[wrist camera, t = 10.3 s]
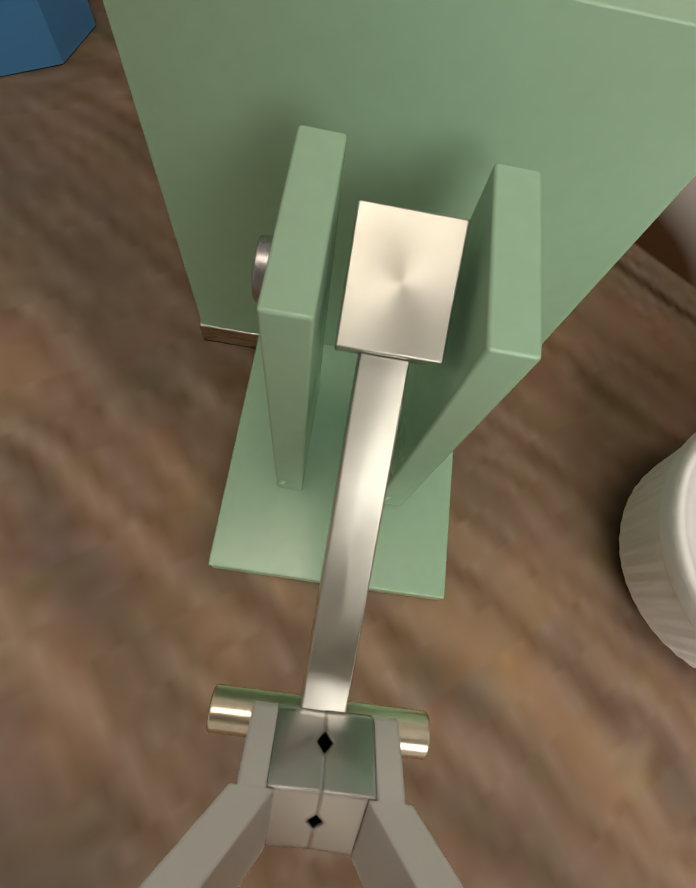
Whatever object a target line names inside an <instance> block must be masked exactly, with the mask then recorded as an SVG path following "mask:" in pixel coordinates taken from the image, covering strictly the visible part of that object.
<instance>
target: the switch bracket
mask: <svg viewBox="0 0 696 888" xmlns="http://www.w3.org/2000/svg"><path fill="white" fill-rule="evenodd" d="M346 146H347V136H346V134H345V133H341V132H336V131H331V130H325V129H320V128H315V127H310V126H305V125H300V126H299V127H298V129H297V134H296V138H295V143H294V147H293V151H292V156H291V160H290V164H289V169H288V173H287V178H286V182H285V186H284V191H283V195H282V199H281V204H280V208H279V212H278V217H277V221H276V226H275V230H274V234H273V236H271V235H266V234H262V235H261V236H260V237H259V239H258V242H257V245H256V249H255V253H254V259H253V267H252V296H253V299H254V301H256V302H258V304H257V317H258V325H259V334H260V335H259V337H258V341H257V346H256V350H255V355H254V359H253V364H252V368H251V373H250V377H249V382H248V386H247V391H246V395H245V400H244V404H243V409H242V413H241V418H240V422H239V427H238V431H237V436H236V440H235V444H234V449H233V453H232V458H231V462H230V467H229V471H228V476H227V480H226V485H225V489H224V494H223V498H222V503H221V507H220V512H219V516H218V521H217V525H216V530H215V534H214V539H213V543H212V548H211V552H210V557H209V561H208V564H209V565H210V566H212V567H213V568H218V569H225V570H232V571H239V572H246V573H253V574H259V575H266V576H273V577H280V578H287V579H294V580H301V581H308V582H315V583H320V578H321V572H322V566H323V560H324V554H325V548H326V542H327V536H328V530H329V524H330V517H331V511H332V505H333V499H334V493H335V487H336V481H337V475H338V469H339V463H340V457H341V451H342V445H343V439H344V433H345V427H346V421H347V415H348V409H349V403H350V397H351V391H352V385H353V379H354V373H355V367H356V361H357V355H358V354H355V353H349V352H343V351H337V350H335V346H330V345H324V340H325V331H326V322H327V314H328V305H329V296H330V287H331V278H332V269H333V261H334V252H335V243H336V234H337V225H338V217H339V208H340V199H341V190H342V181H343V173H344V164H345V155H346ZM469 222H470V223H469V228H468V234H467V239H466V244H465V249H464V254H463V260H462V265H461V270H460V275H459V281H458V286H457V291H456V296H455V301H454V307H453V312H452V317H451V322H450V327H449V333H448V338H447V343H446V348H445V354H444V359H443V363H442V364H423V365H420V364H414V363H410V365H409V370H408V376H407V381H406V387H405V392H404V398H403V403H402V409H401V414H400V420H399V425H398V431H397V436H396V442H395V447H394V453H393V458H392V464H391V469H390V475H389V480H388V486H387V491H386V497H385V502H384V508H383V513H382V519H381V524H380V530H379V535H378V541H377V546H376V552H375V557H374V563H373V568H372V574H371V579H370V584H369V590H371V591H377V592H384V593H391V594H398V595H405V596H412V597H419V598H426V599H433V600H437V599H443V598H444V590H445V574H446V558H447V542H448V527H449V511H450V495H451V479H452V463H453V450H454V449H455V448H456V447H457V446H458V445H459V444H460V443H461V442H462V441H463V440H464V439H465V438H466V437H467V436H468V435H469V434H470V433H471V432H472V431H473V430H474V428H475V427H476V426H477V425H478V424H479V423H480V422H481V421H482V420H483V419H484V418H485V417H486V416H487V415H488V414H489V413H490V412H491V411H492V410H493V409H494V408H495V407H496V405H497V404H498V403H499V402H500V401H501V400H502V399H503V398H504V397H505V396H506V395H507V394H508V393H509V392H510V391H511V390H512V389H513V388H514V387H515V386H516V385H517V384H518V382H519V381H520V380H521V379H522V378H523V377H524V376H525V375H526V374H527V373H528V372H529V371H530V370H531V369H532V368H533V367H534V366H535V365H536V364H537V363H538V362H539V361H540V359H541V173H540V172H539V171H536V170H531V169H526V168H521V167H516V166H511V165H505V164H500V163H497V164H495V165H494V167H493V169H492V171H491V174H490V176H489V178H488V180H487V183H486V185H485V187H484V189H483V192H482V194H481V196H480V198H479V201H478V203H477V205H476V207H475V210H474V212H473V214H472V216H471V219H470V221H469Z"/></svg>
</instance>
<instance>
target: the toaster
mask: <svg viewBox="0 0 696 888" xmlns="http://www.w3.org/2000/svg"><path fill="white" fill-rule="evenodd" d="M103 3H104V6H105V10H106V13H107V16H108V19H109V23H110V26H111V29H112V32H113V36H114V39H115V42H116V45H117V49H118V52H119V55H120V58H121V62H122V65H123V68H124V71H125V75H126V78H127V81H128V84H129V88H130V91H131V94H132V97H133V101H134V104H135V107H136V110H137V114H138V117H139V120H140V123H141V127H142V130H143V133H144V136H145V140H146V143H147V146H148V149H149V153H150V156H151V159H152V162H153V166H154V169H155V172H156V175H157V178H158V182H159V185H160V188H161V191H162V195H163V198H164V201H165V204H166V208H167V211H168V214H169V217H170V221H171V224H172V227H173V230H174V234H175V237H176V240H177V243H178V247H179V250H180V253H181V256H182V260H183V263H184V266H185V269H186V273H187V276H188V279H189V282H190V286H191V289H192V292H193V295H194V299H195V302H196V305H197V308H198V312H199V315H200V318H201V321H200V328H201V331H202V334H203V338H204V339H206V340H212V341H218V342H224V343H230V344H236V345H242V346H248V347H254V348H256V346H257V341H258V337H259V335H260V334H259V325H258V317H257V304H258V302H256V301H254V299H253V296H252V267H253V259H254V253H255V249H256V245H257V242H258V239H259V237H260V236H261V235H262V234H266V235H271V236H273V234H274V230H275V226H276V221H277V217H278V212H279V208H280V204H281V199H282V195H283V191H284V186H285V182H286V178H287V173H288V169H289V164H290V160H291V156H292V151H293V147H294V143H295V138H296V134H297V129H298V127H299V126H300V125H305V126H310V127H315V128H320V129H325V130H331V131H336V132H341V133H345V134H346V136H347V146H346V155H345V164H344V173H343V181H342V190H341V199H340V208H339V217H338V225H337V234H336V243H335V252H334V261H333V269H332V278H331V287H330V296H329V305H328V314H327V322H326V331H325V340H324V345H330V346H335V340H336V334H337V328H338V321H339V315H340V309H341V303H342V296H343V290H344V284H345V277H346V271H347V265H348V259H349V252H350V246H351V240H352V233H353V227H354V221H355V215H356V208H357V202H358V200H366V201H372V202H377V203H382V204H388V205H393V206H398V207H404V208H409V209H414V210H420V211H425V212H431V213H436V214H441V215H447V216H452V217H457V218H463V219H468V220H469V221H470V219H471V216H472V214H473V212H474V210H475V207H476V205H477V203H478V201H479V198H480V196H481V194H482V192H483V189H484V187H485V185H486V183H487V180H488V178H489V176H490V174H491V171H492V169H493V167H494V165H495V164H497V163H500V164H505V165H511V166H516V167H521V168H526V169H531V170H536V171H539V172H540V173H541V345H542V344H543V342H544V341H545V340H546V339H547V338H548V337H549V336H550V335H551V334H552V333H553V331H554V330H555V329H556V328H557V327H558V326H559V325H560V324H561V323H562V322H563V320H564V319H565V318H566V317H567V316H568V315H569V314H570V313H571V312H572V311H573V309H574V308H575V307H576V306H577V305H578V304H579V303H580V302H581V301H582V300H583V298H584V297H585V296H586V295H587V294H588V293H589V292H590V291H591V290H592V289H593V287H594V286H595V285H596V284H597V283H598V282H599V281H600V280H601V279H602V277H603V276H604V275H605V274H606V273H607V272H608V271H609V270H610V269H611V268H612V266H613V265H614V264H615V263H616V262H617V261H618V260H619V259H620V258H621V257H622V255H623V254H624V253H625V252H626V251H627V250H628V249H629V248H630V247H631V246H632V244H633V243H634V242H635V241H636V240H637V239H638V238H639V237H640V236H641V234H642V233H643V232H644V231H645V230H646V229H647V228H648V227H649V226H650V225H651V224H652V222H653V221H654V220H655V219H656V218H657V217H658V216H659V215H660V214H661V213H662V211H663V210H664V209H665V208H666V207H667V206H668V205H669V204H670V203H671V202H672V200H673V199H674V198H675V197H676V196H677V195H678V194H679V193H680V192H681V191H682V189H683V188H684V187H685V186H686V185H687V184H688V183H689V181H691V179H692V178H693V177H694V176H695V175H696V0H103Z"/></svg>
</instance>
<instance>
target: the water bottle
mask: <svg viewBox="0 0 696 888" xmlns="http://www.w3.org/2000/svg"><path fill="white" fill-rule="evenodd" d="M95 26H96V24H95V21H94V18H93V15H92V12H91V9H90V6H89V3H88V0H0V76H4V75H9V74H14V73H19V72H24V71H29V70H34V69H39V68H44V67H49V66H54V65H59V64H64V62H65V61H66V60H67V59H68V58H69V56H70V55H71V54H72V53H73V52H74V51H75V49H76V48H77V47H78V46H79V45H80V43H81V42H82V41H83V40H84V39H85V37H86V36H87V35H88V34H89V33H90V32H91V30H92V29H93V28H94V27H95Z"/></svg>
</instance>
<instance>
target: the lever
mask: <svg viewBox="0 0 696 888" xmlns="http://www.w3.org/2000/svg"><path fill="white" fill-rule="evenodd" d="M469 223H470V222H469V220H468V219H463V218H457V217H452V216H447V215H441V214H436V213H431V212H425V211H420V210H414V209H409V208H404V207H398V206H393V205H388V204H382V203H377V202H372V201H366V200H358V202H357V208H356V215H355V221H354V227H353V233H352V240H351V246H350V252H349V259H348V265H347V271H346V277H345V284H344V290H343V296H342V303H341V309H340V315H339V321H338V328H337V334H336V340H335V350H337V351H343V352H349V353H355V354H358V355H357V361H356V367H355V373H354V379H353V385H352V391H351V397H350V403H349V409H348V415H347V421H346V427H345V433H344V439H343V445H342V451H341V457H340V463H339V469H338V475H337V481H336V487H335V493H334V499H333V505H332V511H331V517H330V524H329V530H328V536H327V542H326V548H325V554H324V560H323V566H322V572H321V578H320V584H319V590H318V596H317V602H316V608H315V614H314V620H313V626H312V632H311V638H310V644H309V650H308V656H307V662H306V668H305V674H304V680H303V686H302V692H301V694H293V693H286V692H278V691H271V690H263V689H255V688H248V687H240V686H233V685H225V684H217V685H216V687H215V689H214V691H213V694H212V698H211V702H210V706H209V711H208V716H207V723H206V730H207V732H208V733H213V734H221V735H229V736H237V737H245V738H246V735H247V731H248V726H249V721H250V716H251V711H252V707H253V705H254V702H255V700H256V701H264V702H271V703H279V704H284V705H291V706H297V707H304V708H311V709H317V710H324V711H326V710H331V711H340V712H349V713H358V714H366V715H372V716H375V717H385V718H394V719H397V721H398V724H399V730H400V742H401V754H402V757H403V758H411V759H419V760H423V759H425V758H426V757H427V754H428V751H429V745H430V722H429V717H428V714H427V712H425V711H422V710H415V709H407V708H400V707H392V706H384V705H377V704H369V703H362V702H354V701H348V700H349V694H350V689H351V683H352V678H353V672H354V667H355V661H356V656H357V650H358V645H359V639H360V634H361V628H362V623H363V617H364V612H365V606H366V601H367V595H368V590H369V584H370V579H371V574H372V568H373V563H374V557H375V552H376V546H377V541H378V535H379V530H380V524H381V519H382V513H383V508H384V502H385V497H386V491H387V486H388V480H389V475H390V469H391V464H392V458H393V453H394V447H395V442H396V436H397V431H398V425H399V420H400V414H401V409H402V403H403V398H404V392H405V387H406V381H407V376H408V370H409V365H410V363H414V364H420V365H423V364H442V363H443V359H444V354H445V348H446V343H447V338H448V333H449V327H450V322H451V317H452V312H453V307H454V301H455V296H456V291H457V286H458V281H459V275H460V270H461V265H462V260H463V254H464V249H465V244H466V239H467V234H468V228H469ZM278 709H279V706H278ZM277 715H278V714H277ZM276 721H277V720H276Z"/></svg>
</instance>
